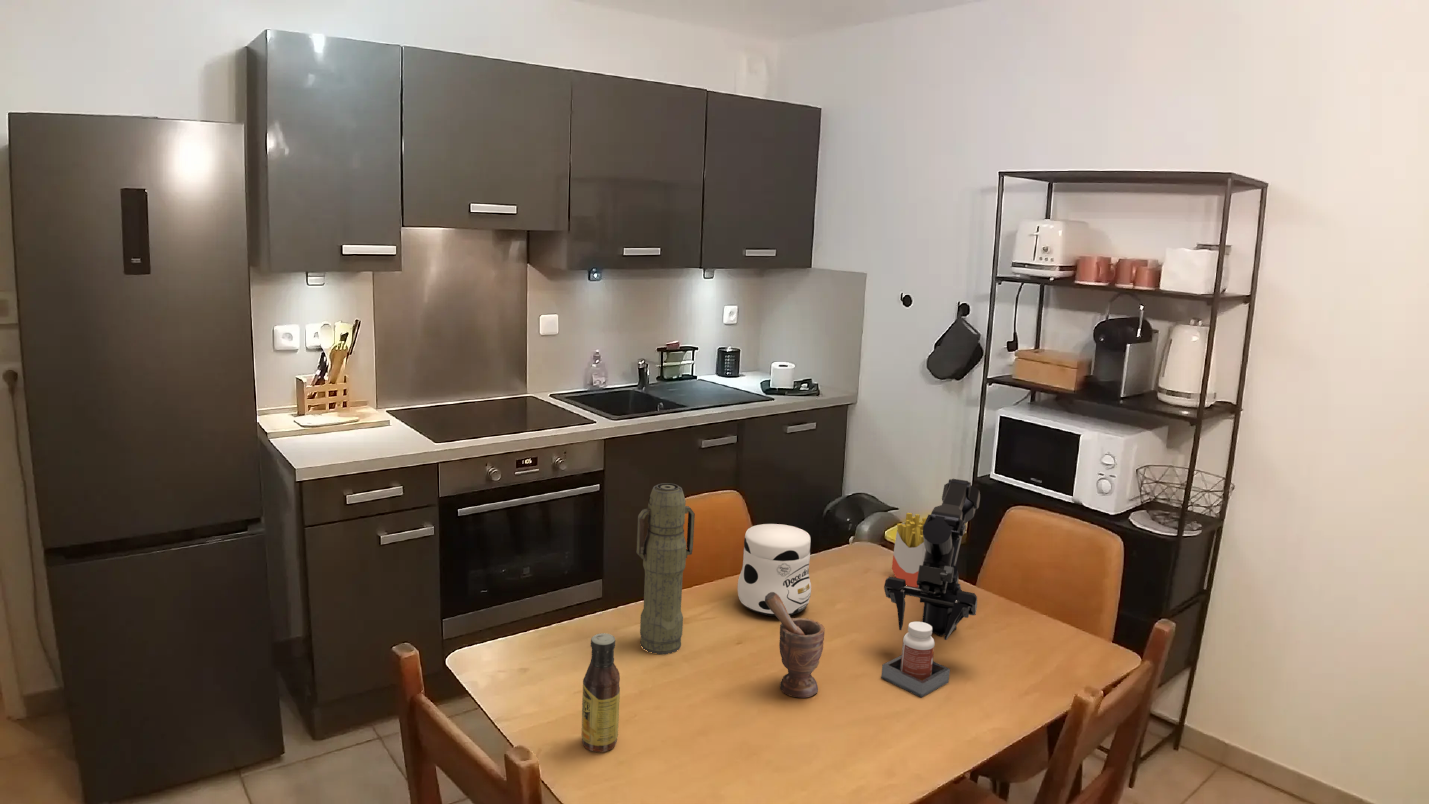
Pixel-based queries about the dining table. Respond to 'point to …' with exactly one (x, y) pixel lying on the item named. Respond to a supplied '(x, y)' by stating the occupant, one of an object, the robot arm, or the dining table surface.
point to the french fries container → (909, 549)
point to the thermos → (664, 567)
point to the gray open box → (913, 684)
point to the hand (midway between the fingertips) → (922, 634)
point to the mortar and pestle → (797, 649)
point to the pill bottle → (918, 651)
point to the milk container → (775, 568)
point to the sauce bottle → (601, 696)
